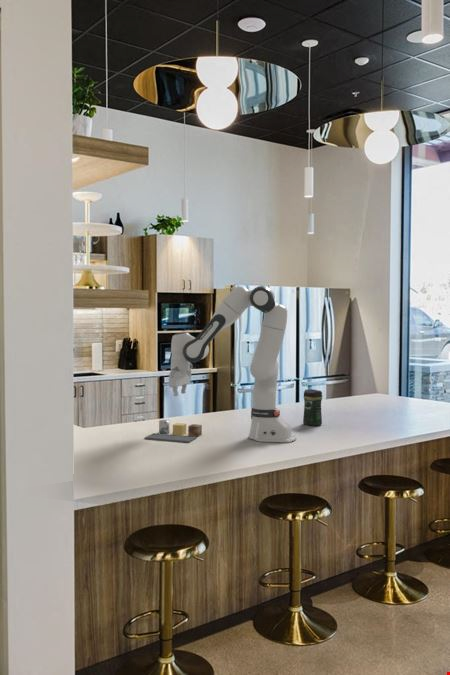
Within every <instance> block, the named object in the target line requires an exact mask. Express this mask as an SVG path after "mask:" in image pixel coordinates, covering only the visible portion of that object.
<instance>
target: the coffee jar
mask: <svg viewBox="0 0 450 675" xmlns="http://www.w3.org/2000/svg"><path fill="white" fill-rule="evenodd" d="M303 400H304V406H303V416H302V417H303V419H302V421H303V422H302V423H303V424H304V425H306V424H307V425H306V426H311V425H313V427H314V426H316V425H319V426H321V425H322V424H323V419H322V418H323V415H322V400H323V391H322V390H318V389H305V390H304V391H303Z"/></svg>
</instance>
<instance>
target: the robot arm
mask: <svg viewBox="0 0 450 675" xmlns="http://www.w3.org/2000/svg"><path fill="white" fill-rule="evenodd" d="M275 298H276V297H275V293H274V292H273V290H272V289H271V288H270V287H268V286H267V285H259V286H256V287H255V288H253V289H251V290H250V289H248V288H246V287H244V286H242V285H241V286H240V285H239V286H236V287H234V288H233V289H232V290H231V291H230V292H229V293H228V294H227V295H226V296H225V297H224V299H223V300H222V301H221V302H220V304H219V306H218V305H217V306H218V307H217V308H216V310H215V312H214V313H213V315H212V317H211V318H210V320H209V322H208V323H207V324H206V326H205V327H203V329H202V330H201V332H200V333H199V334H198V335H197V336H196V337H195V336H193V335H191V334H190V333H189V332H187V331H184V332H178V333H175V334H174V335H172V338H171V345H170V351H171V352H170V353H171V358H170V372H169V376H168V388H172V391H173V397H178V396H179V391H178V389H179V387H181V390H180V391H181V392H180V393H181V394H186V392H187V391H186V390H187V388H188V387H187V386H188V384H190V383H191V380H192V369H193V363H195V364H196V363H198V362H200V361H201V360H203V359H204V358H206V357H208V355H209V354H210V346H209V345H210V343H211V341H213V339H214V338H215V337H216V336H217V334H218V333H220V332H221V331H222V330H224V329H226V328H228V327H230V326H232V325H233V324H234V323H235V322H236V321H238V319H240V317H241V316H242V315H243V313H244V312H245V311H246V310H247V309H248V308H249V307H253V308H255V309H257V311H260V312H261V313H263V320H262V324H261V329H260V333H259V336H258V337H259V338H258V341H257V345H256V347H255V350H254V354H253V356H252V360H251V363H250V367H249V372H250V375H251V376H252V378H254V383H253V389H252V397H251V398H252V400H251V401H252V404H251V411H250V417H251V418H250V419H251V422H250V429H249V434H248V439H250V440H254V441H256V442H262V443H264V442H266V443H292V441H293V442H294V440H295V441H296V440H297V436H296V435H295V434H293V433H292V427H291V425H290V423H288V422H287V421H286V420H285V419H283V418H282V417H281V416H280V414H281V413H280V412H281V409H278V408H277V404H276V403H277V385H278V375H279V362H278V357H279V355H280V352H281V348H282V345H283V342H284V337H285V334H286V327H287V323H288V309H287V307H285V306H284V305H283V304H279V303H277V302H276V300H275Z"/></svg>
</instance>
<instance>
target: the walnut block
mask: <svg viewBox="0 0 450 675" xmlns="http://www.w3.org/2000/svg"><path fill="white" fill-rule="evenodd" d="M187 427H188V428H187V429H188V430H187V433H188V435H187V436H193V437H197V438H199V437H201V436H202V434H203V432H202V431H203V430H202V429H203V428H202V427H203V426H202V424H195V423H192V424H190V425H188V426H187Z"/></svg>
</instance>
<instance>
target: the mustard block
mask: <svg viewBox="0 0 450 675" xmlns="http://www.w3.org/2000/svg"><path fill="white" fill-rule="evenodd" d="M172 435H180V436H186V435H187V423H180V422H175V423H174V424H172Z"/></svg>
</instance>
